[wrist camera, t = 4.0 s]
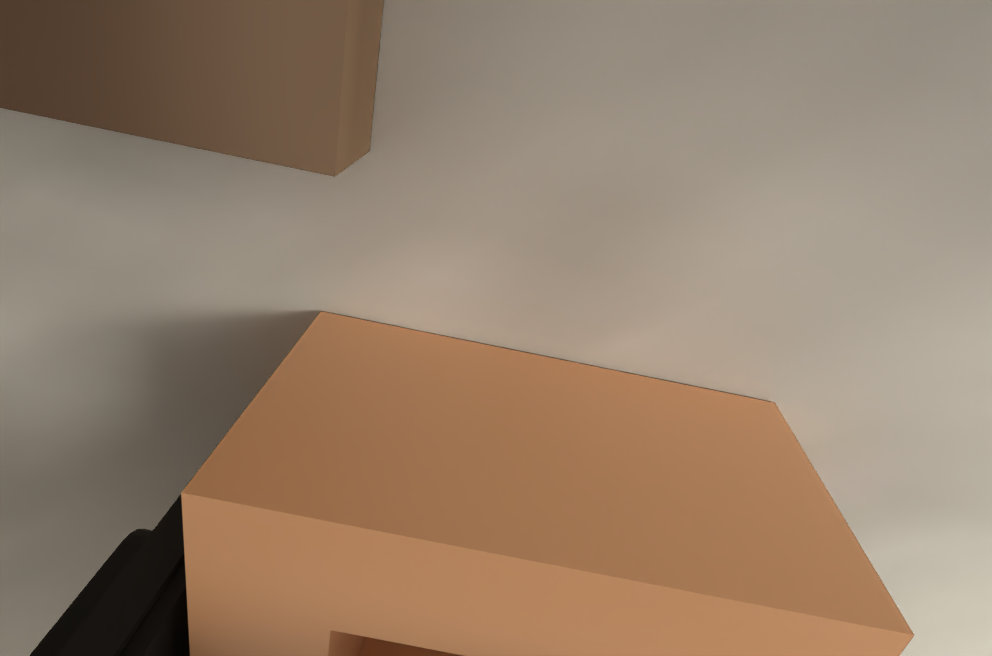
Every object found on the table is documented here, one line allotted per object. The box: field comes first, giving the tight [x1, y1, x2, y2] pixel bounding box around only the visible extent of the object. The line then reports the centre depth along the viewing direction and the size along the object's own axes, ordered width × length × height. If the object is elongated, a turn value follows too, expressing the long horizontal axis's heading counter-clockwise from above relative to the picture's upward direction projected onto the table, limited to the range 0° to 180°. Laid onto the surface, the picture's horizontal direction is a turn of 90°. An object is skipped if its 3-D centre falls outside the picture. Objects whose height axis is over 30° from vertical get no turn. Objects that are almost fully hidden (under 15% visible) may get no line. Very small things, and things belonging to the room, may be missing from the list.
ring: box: [181, 311, 914, 656], centre depth 9 cm, size 7×7×4 cm
